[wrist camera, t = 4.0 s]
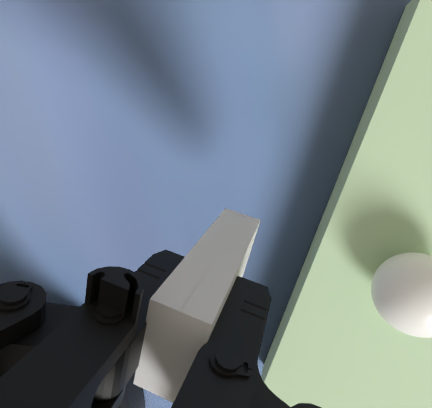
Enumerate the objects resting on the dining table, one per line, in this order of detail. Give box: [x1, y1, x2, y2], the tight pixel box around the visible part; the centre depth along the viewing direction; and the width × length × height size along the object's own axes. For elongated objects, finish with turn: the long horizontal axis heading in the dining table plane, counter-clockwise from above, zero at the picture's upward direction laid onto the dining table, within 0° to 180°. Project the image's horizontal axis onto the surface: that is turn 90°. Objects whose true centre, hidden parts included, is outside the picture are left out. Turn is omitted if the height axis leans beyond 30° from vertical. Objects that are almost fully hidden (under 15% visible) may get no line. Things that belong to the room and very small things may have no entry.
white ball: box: [371, 252, 432, 338], centre depth 13 cm, size 3×3×3 cm
